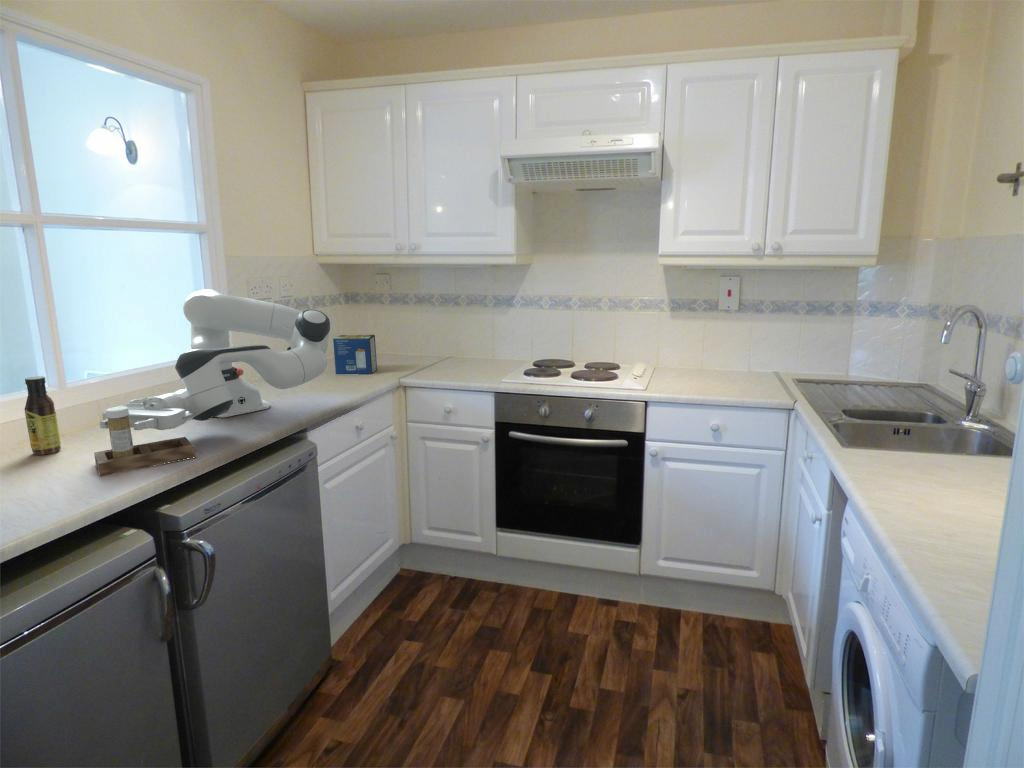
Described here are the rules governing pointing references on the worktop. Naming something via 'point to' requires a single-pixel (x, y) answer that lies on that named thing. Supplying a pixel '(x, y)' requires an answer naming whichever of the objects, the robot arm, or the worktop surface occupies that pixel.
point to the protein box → (355, 354)
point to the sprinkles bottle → (120, 431)
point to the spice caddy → (145, 456)
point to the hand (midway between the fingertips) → (119, 426)
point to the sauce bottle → (41, 418)
